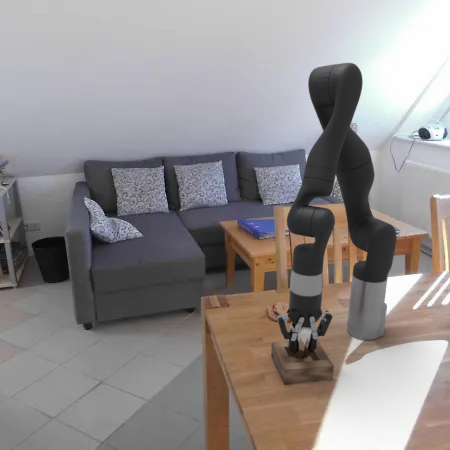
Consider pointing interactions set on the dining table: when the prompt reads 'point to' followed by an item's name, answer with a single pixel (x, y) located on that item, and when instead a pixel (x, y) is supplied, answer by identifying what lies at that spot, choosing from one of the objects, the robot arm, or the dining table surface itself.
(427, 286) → the dining table surface
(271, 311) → the cookie
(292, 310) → the robot arm
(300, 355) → the milkshake
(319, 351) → the socket block
